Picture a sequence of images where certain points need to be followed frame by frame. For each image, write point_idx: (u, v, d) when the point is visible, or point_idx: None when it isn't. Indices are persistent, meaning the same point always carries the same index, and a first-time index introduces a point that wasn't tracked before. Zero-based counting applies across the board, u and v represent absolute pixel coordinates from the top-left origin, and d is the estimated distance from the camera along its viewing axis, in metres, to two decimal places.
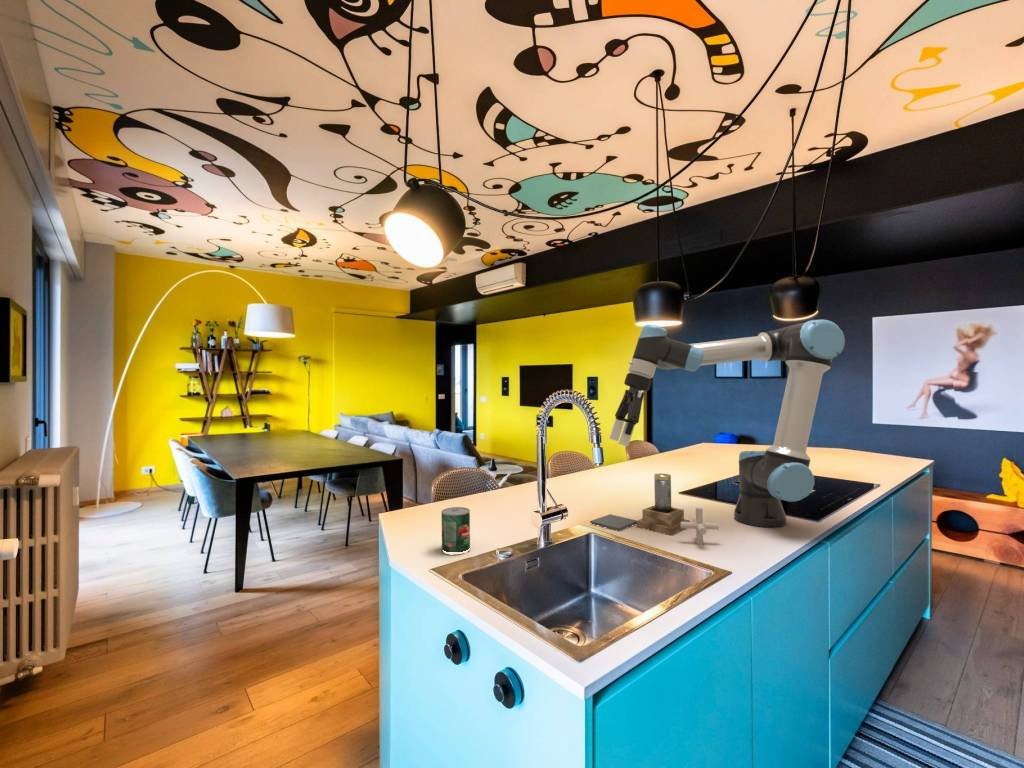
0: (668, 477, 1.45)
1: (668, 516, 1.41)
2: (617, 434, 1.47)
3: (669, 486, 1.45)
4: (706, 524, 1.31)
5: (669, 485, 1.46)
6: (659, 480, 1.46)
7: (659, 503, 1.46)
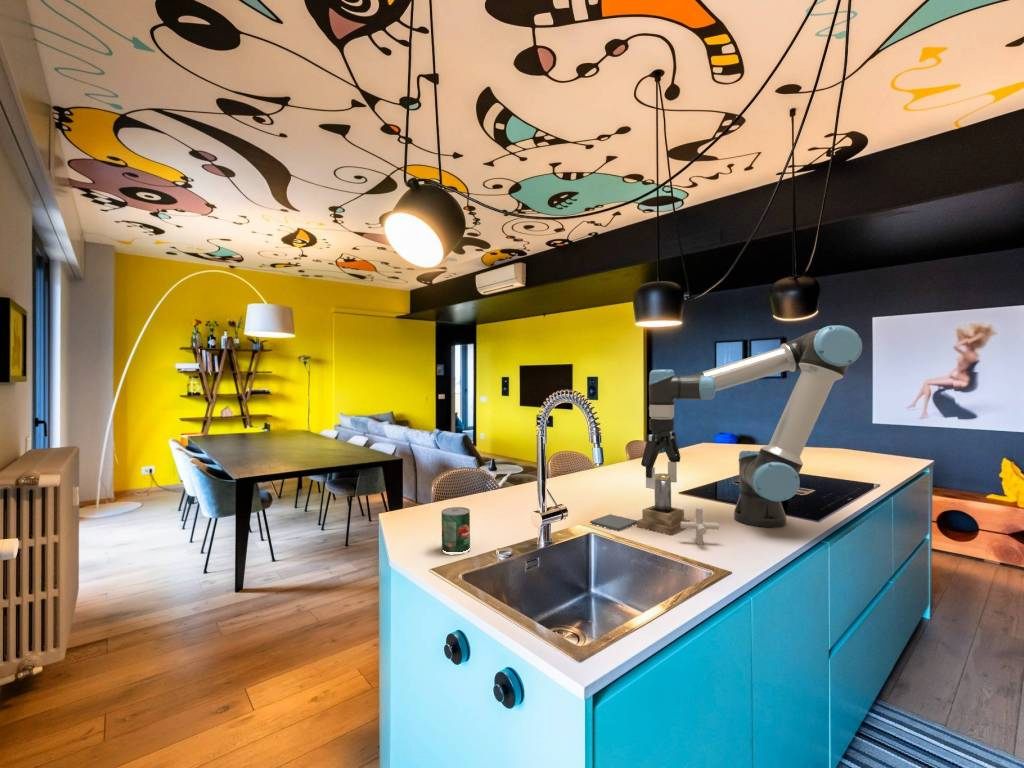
0: (668, 477, 1.45)
1: (668, 516, 1.41)
2: (673, 476, 1.52)
3: (669, 486, 1.45)
4: (706, 524, 1.31)
5: (669, 485, 1.45)
6: (659, 480, 1.46)
7: (659, 504, 1.46)
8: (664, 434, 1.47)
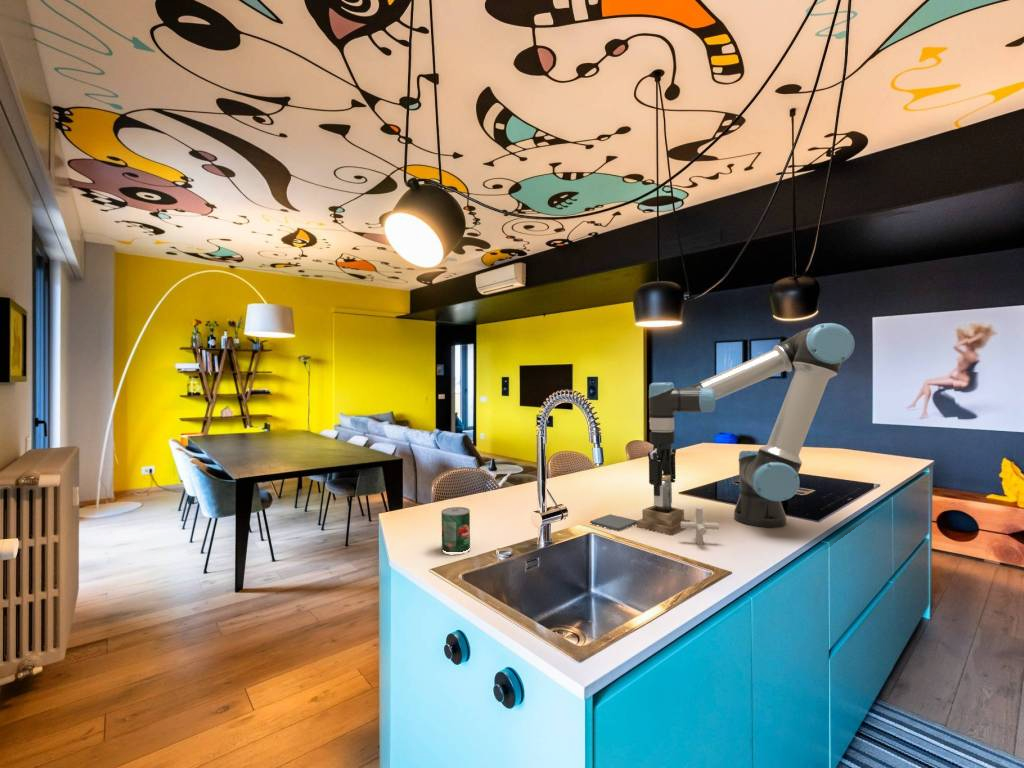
0: (668, 477, 1.45)
1: (668, 516, 1.41)
2: None
3: (668, 486, 1.45)
4: (706, 524, 1.31)
5: (669, 485, 1.46)
6: None
7: None
8: (665, 447, 1.47)
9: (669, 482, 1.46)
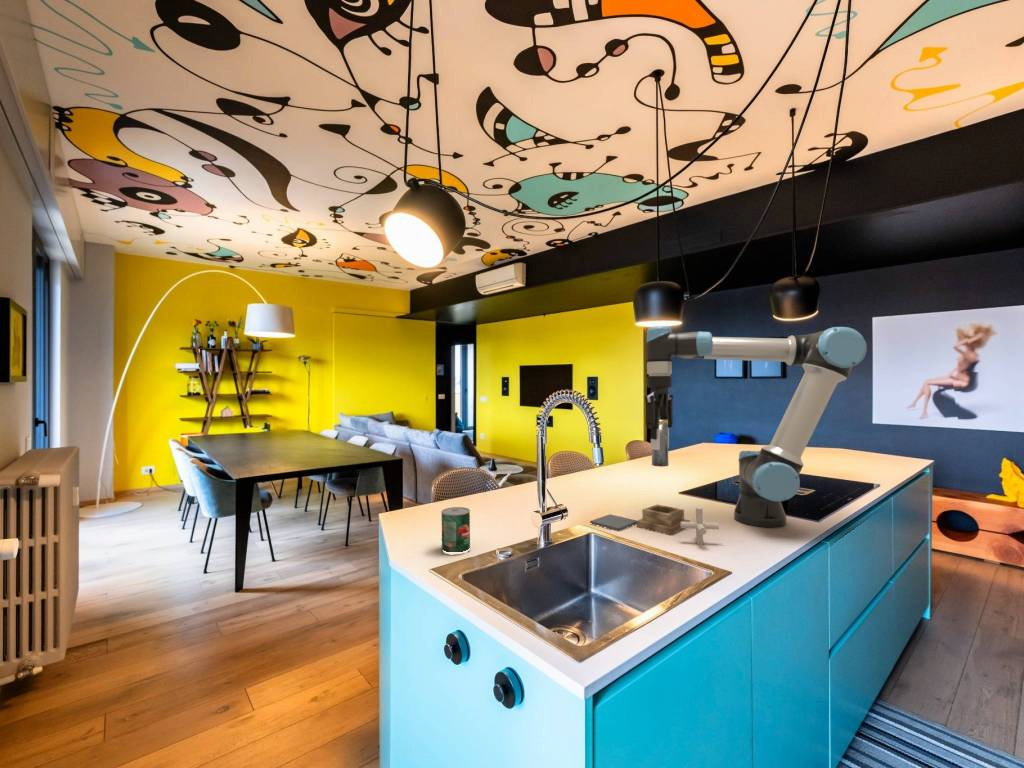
0: (665, 421, 1.46)
1: (668, 516, 1.41)
2: None
3: (665, 430, 1.46)
4: (706, 524, 1.31)
5: (666, 429, 1.46)
6: None
7: None
8: (662, 391, 1.47)
9: (666, 426, 1.46)
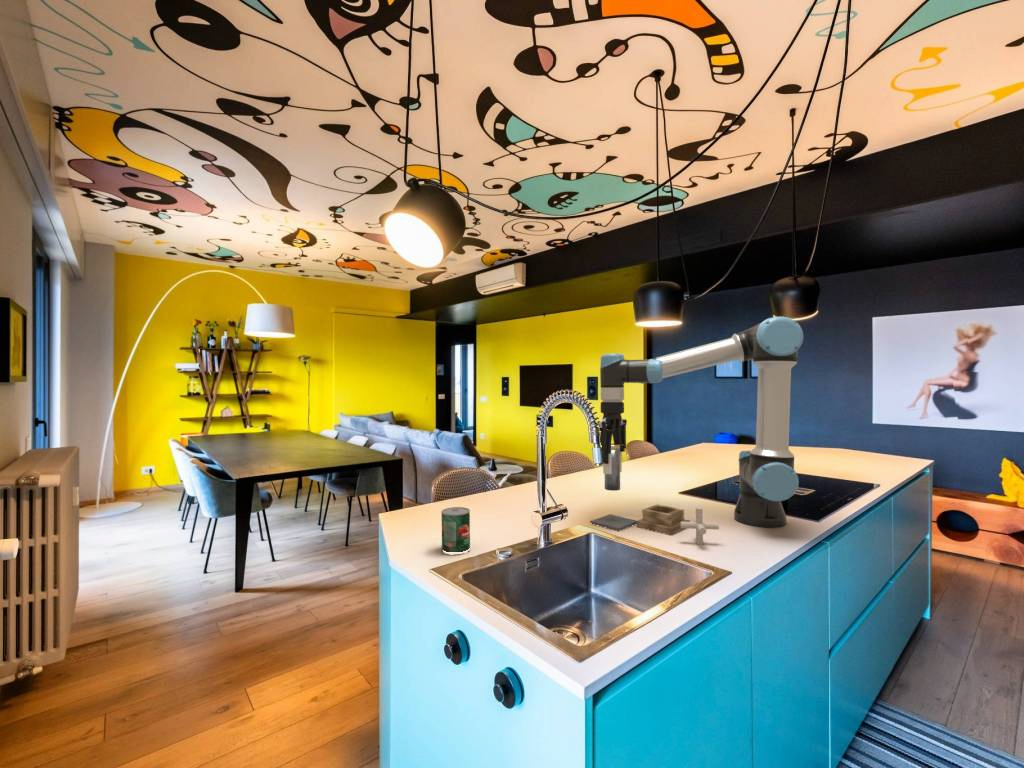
0: (617, 446, 1.49)
1: (668, 516, 1.41)
2: None
3: (617, 455, 1.50)
4: (706, 524, 1.31)
5: (618, 454, 1.50)
6: None
7: None
8: (614, 417, 1.51)
9: (618, 451, 1.50)
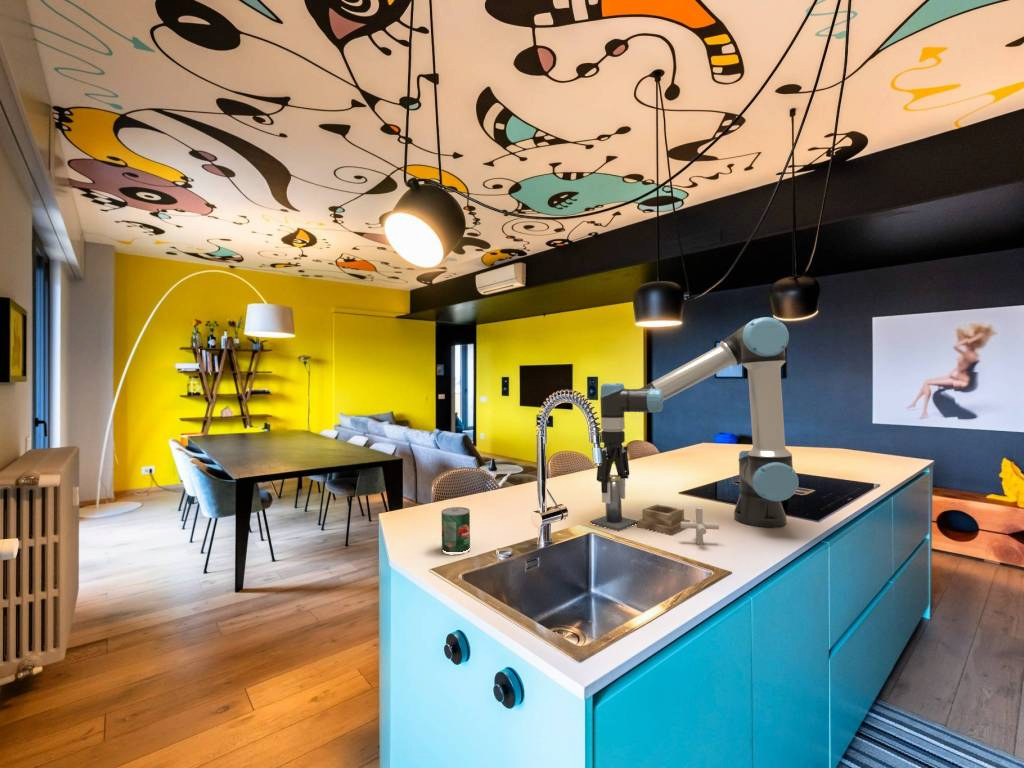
0: (617, 478, 1.49)
1: (668, 516, 1.41)
2: (621, 492, 1.54)
3: (618, 487, 1.49)
4: (706, 524, 1.31)
5: (618, 486, 1.50)
6: (608, 481, 1.50)
7: (609, 504, 1.50)
8: (615, 446, 1.51)
9: (618, 483, 1.50)
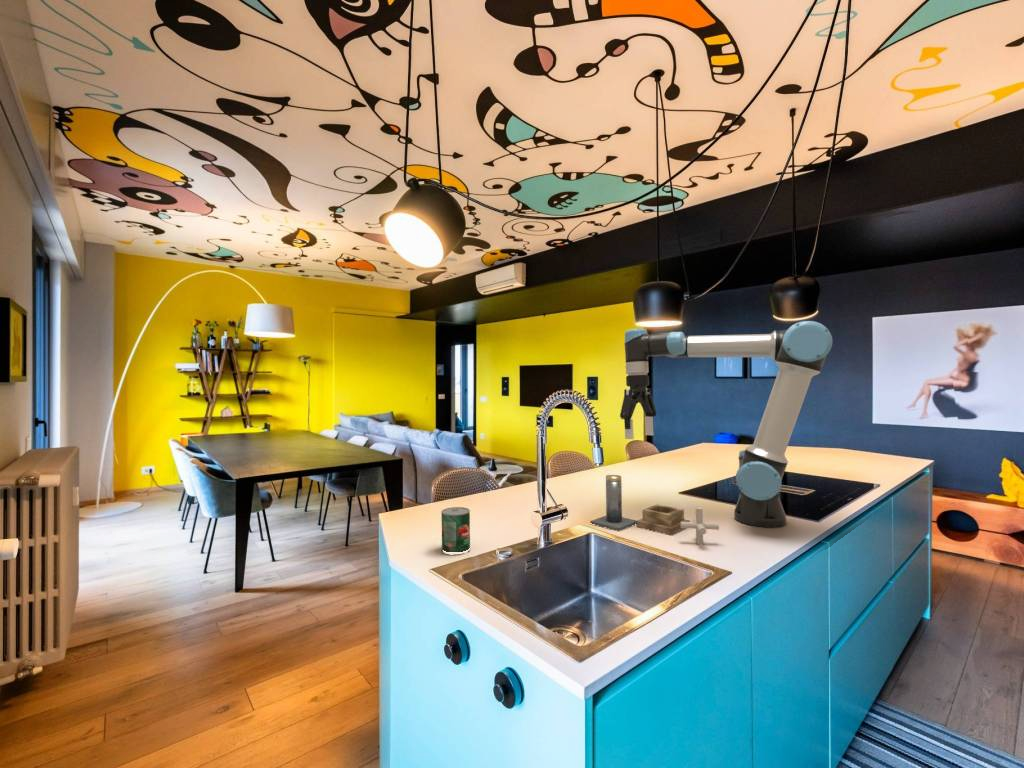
0: (618, 478, 1.49)
1: (668, 516, 1.41)
2: (650, 429, 1.62)
3: (619, 487, 1.50)
4: (706, 524, 1.31)
5: (619, 486, 1.50)
6: (609, 481, 1.50)
7: (609, 504, 1.50)
8: (640, 389, 1.58)
9: (619, 483, 1.50)
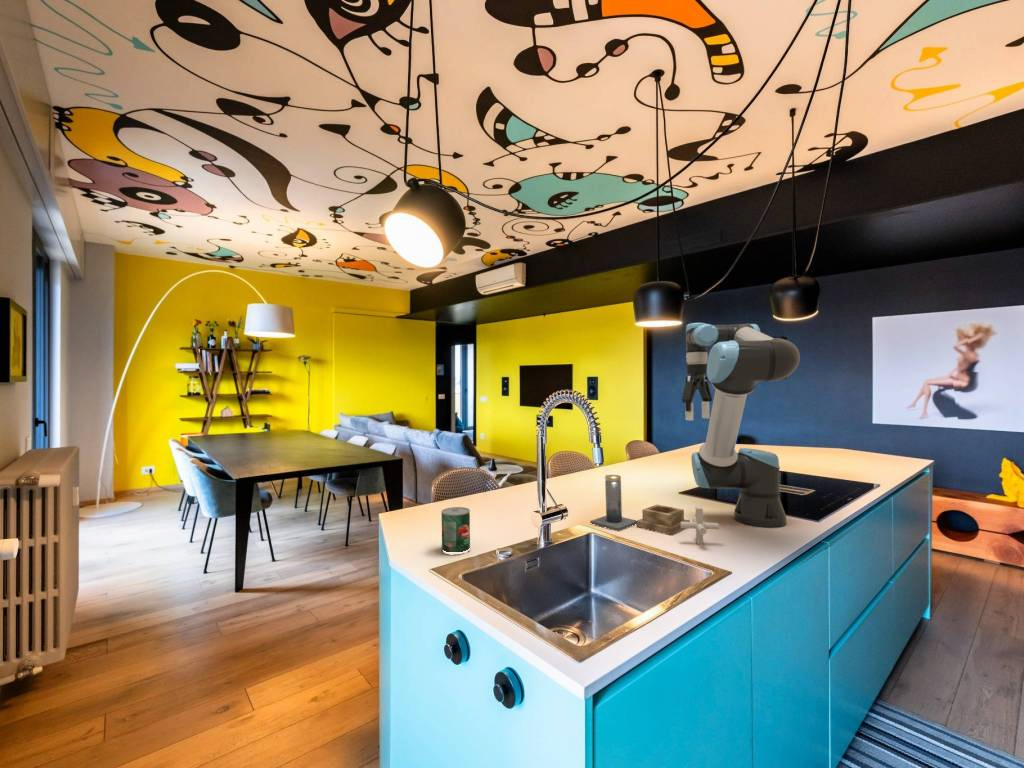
0: (617, 478, 1.49)
1: (668, 516, 1.41)
2: (706, 413, 1.82)
3: (618, 487, 1.49)
4: (706, 524, 1.31)
5: (619, 486, 1.50)
6: (609, 481, 1.50)
7: (609, 504, 1.50)
8: (699, 377, 1.77)
9: (619, 483, 1.50)
